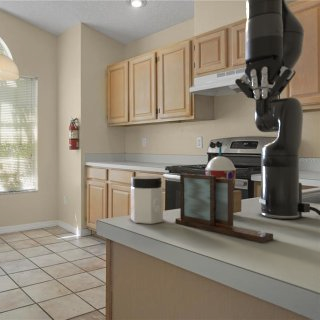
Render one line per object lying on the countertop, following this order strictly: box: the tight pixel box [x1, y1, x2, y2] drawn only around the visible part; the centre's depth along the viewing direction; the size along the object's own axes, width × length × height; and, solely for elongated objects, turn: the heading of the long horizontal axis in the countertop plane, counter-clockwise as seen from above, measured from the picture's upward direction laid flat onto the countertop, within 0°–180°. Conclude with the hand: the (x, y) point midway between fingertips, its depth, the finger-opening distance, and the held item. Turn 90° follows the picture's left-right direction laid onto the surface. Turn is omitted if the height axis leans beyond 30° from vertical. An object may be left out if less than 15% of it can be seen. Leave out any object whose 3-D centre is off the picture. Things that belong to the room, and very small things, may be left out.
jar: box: [130, 175, 164, 225], centre depth 91 cm, size 9×8×12 cm
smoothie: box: [204, 146, 237, 191], centre depth 97 cm, size 8×8×20 cm
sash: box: [216, 178, 242, 226], centre depth 82 cm, size 9×4×11 cm, turn 33°
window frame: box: [175, 173, 274, 244], centre depth 79 cm, size 23×4×13 cm, turn 33°
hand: (263, 116), depth 76 cm, fingers closed
